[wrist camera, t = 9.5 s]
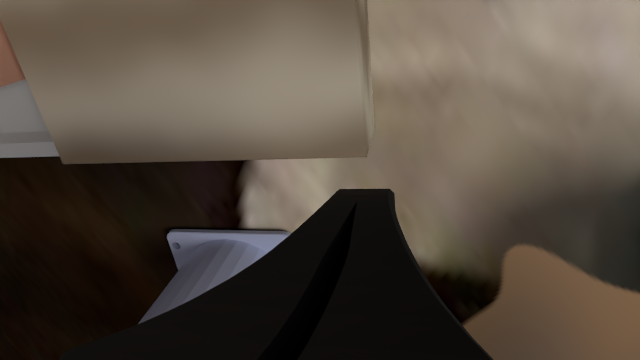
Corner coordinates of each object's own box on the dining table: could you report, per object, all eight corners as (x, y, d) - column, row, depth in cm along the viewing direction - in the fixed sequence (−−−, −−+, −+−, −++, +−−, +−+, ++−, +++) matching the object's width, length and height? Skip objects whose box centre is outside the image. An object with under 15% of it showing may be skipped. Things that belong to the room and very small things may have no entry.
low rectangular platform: (374, 126, 20) (366, 157, 17) (108, 137, 24) (63, 164, 21) (354, -196, 15) (336, -233, 12) (13, -119, 18) (-67, -133, 15)
